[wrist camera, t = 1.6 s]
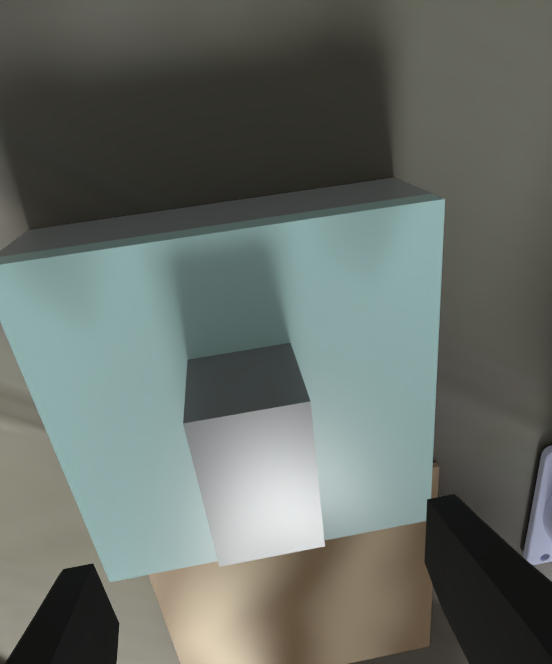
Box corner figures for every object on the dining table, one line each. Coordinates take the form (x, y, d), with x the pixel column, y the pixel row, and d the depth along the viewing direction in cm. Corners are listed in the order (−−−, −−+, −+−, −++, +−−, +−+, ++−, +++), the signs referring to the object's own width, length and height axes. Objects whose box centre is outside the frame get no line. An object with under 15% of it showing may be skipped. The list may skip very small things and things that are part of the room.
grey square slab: (394, 177, 16) (432, 193, 13) (394, 453, 21) (421, 504, 19) (28, 229, 15) (-10, 258, 12) (125, 502, 21) (113, 562, 18)
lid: (432, 193, 13) (509, 226, 10) (421, 504, 19) (469, 593, 15) (-10, 258, 12) (-90, 317, 9) (113, 562, 18) (92, 670, 15)
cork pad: (436, 462, 22) (439, 466, 22) (427, 641, 28) (429, 646, 28) (131, 518, 21) (130, 524, 21) (192, 690, 27) (192, 696, 27)
